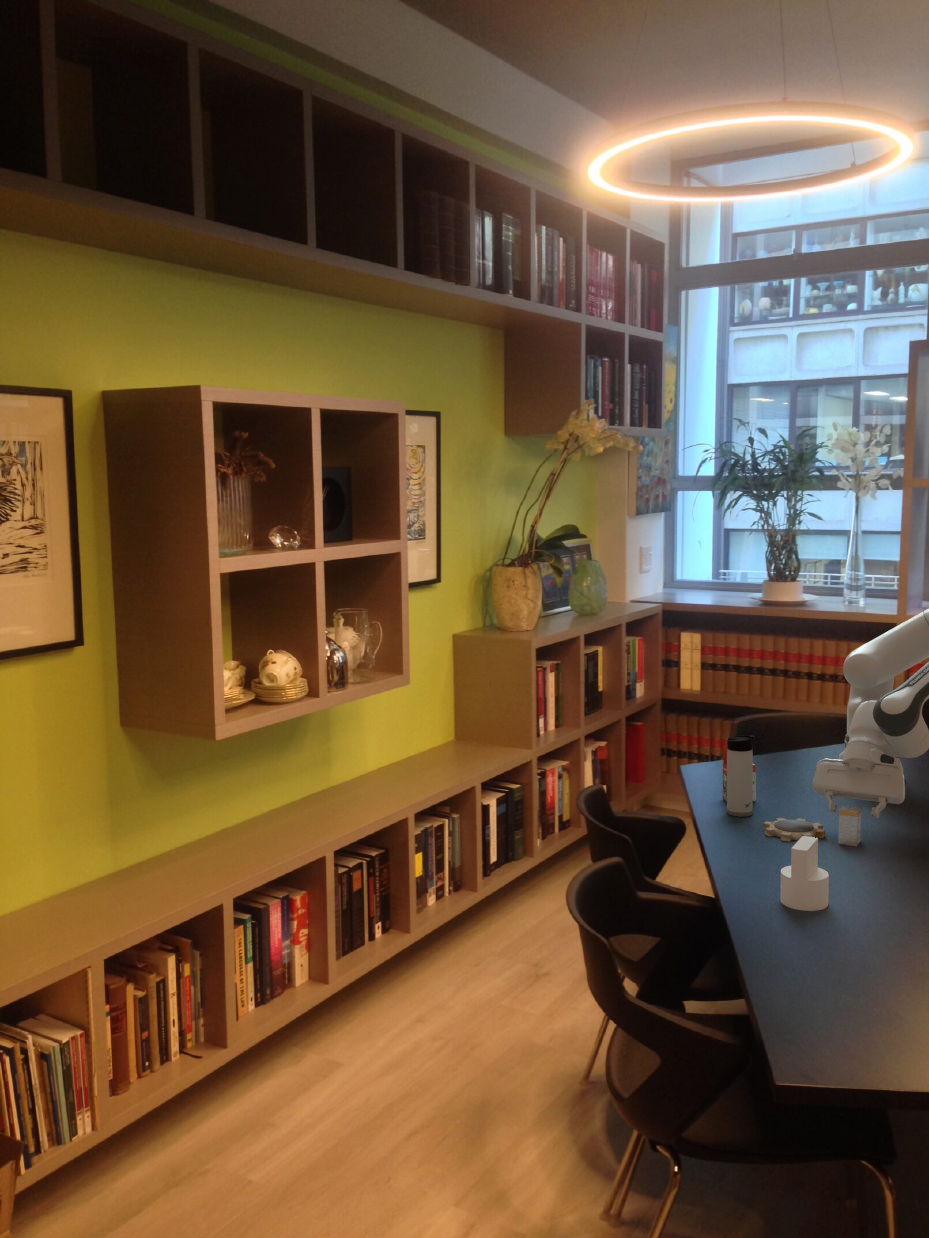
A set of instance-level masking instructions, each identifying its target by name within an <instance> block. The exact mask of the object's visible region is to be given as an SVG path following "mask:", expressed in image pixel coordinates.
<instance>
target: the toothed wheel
mask: <svg viewBox="0 0 929 1238" xmlns="http://www.w3.org/2000/svg"><path fill="white" fill-rule="evenodd" d="M762 825H763V828H762V829H763V830H764V835H766V836H767V837H776V838H780V841H784V842H788V843H789V842H791V841H798V840H799V839H800V838H801V837H802V836H809V837H816V838H818V839H824V838H825V837H826V829H824V824H821V823H820V822H810V821H807V819H806V818H800V817H799V818H796V819H786V818H784V817H776V818H775V821H766V820H765V822H763V823H762ZM824 836H825V837H824Z"/></svg>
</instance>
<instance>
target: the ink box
mask: <svg viewBox="0 0 929 1238" xmlns="http://www.w3.org/2000/svg"><path fill="white" fill-rule="evenodd" d="M727 746H728V745H723V746H722V747H723V757H722V758H723V759H722V760H723V761H722V800H723V801H725V802H726V803H727ZM756 784H757V766H756V764H755V763H753V802H756V801H757V785H756Z"/></svg>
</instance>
